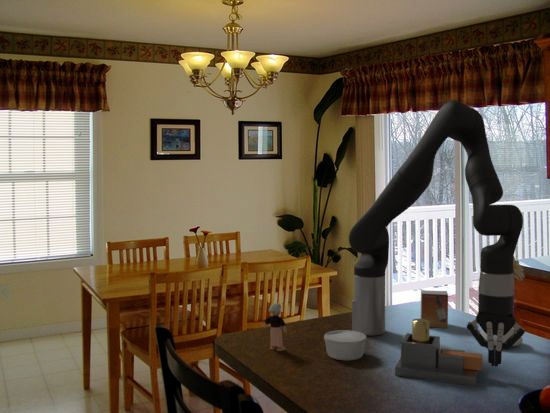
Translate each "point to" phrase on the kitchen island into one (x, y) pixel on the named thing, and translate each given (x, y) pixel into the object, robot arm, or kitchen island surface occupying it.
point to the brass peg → (420, 331)
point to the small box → (435, 308)
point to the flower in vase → (518, 275)
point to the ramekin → (345, 344)
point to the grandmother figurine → (276, 327)
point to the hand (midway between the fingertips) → (494, 365)
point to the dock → (432, 363)
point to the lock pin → (467, 359)
